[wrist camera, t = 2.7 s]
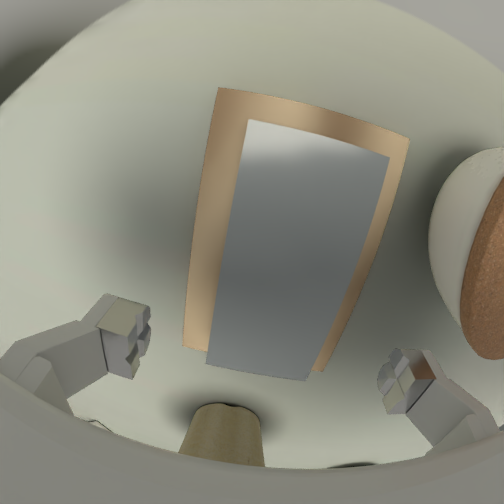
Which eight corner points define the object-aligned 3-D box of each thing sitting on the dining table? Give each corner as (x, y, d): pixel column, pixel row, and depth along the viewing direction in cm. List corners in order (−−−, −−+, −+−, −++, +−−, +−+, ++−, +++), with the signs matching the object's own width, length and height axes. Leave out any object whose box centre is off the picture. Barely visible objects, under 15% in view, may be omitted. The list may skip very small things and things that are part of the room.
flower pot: (298, 414, 22) (301, 497, 14) (245, 448, 26) (237, 514, 18) (205, 376, 21) (181, 469, 13) (166, 418, 24) (144, 487, 16)
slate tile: (370, 153, 12) (390, 157, 10) (302, 353, 18) (305, 381, 15) (253, 122, 12) (248, 119, 10) (213, 337, 18) (205, 363, 15)
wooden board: (402, 138, 13) (410, 138, 12) (321, 362, 19) (322, 371, 18) (222, 90, 13) (218, 87, 12) (186, 336, 19) (182, 345, 18)
